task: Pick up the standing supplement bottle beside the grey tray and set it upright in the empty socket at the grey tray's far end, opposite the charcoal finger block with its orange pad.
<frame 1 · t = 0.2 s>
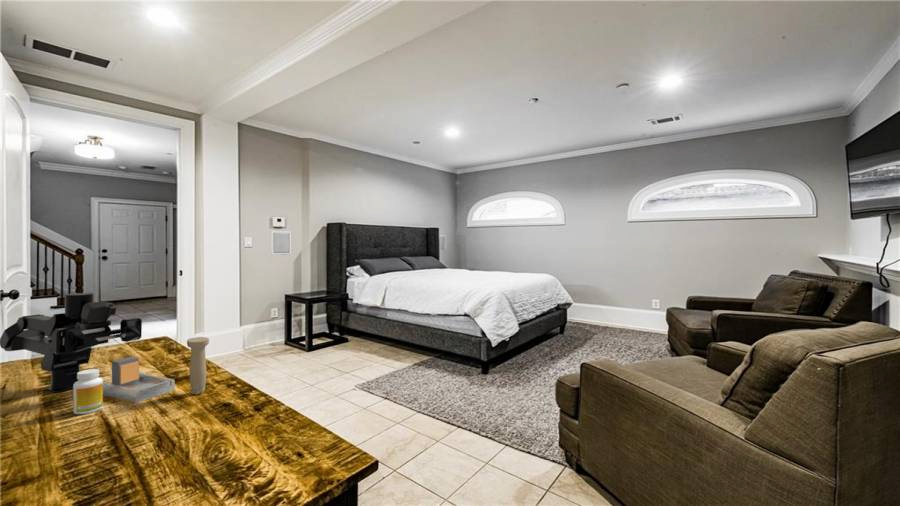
hand: (119, 338, 99), 17 cm above the table, tool horizontal, fingers open, 9 cm apart
handle: (198, 393, 106), on the table
supplement bottle: (88, 410, 95), on the table
grey tray: (137, 391, 106), on the table
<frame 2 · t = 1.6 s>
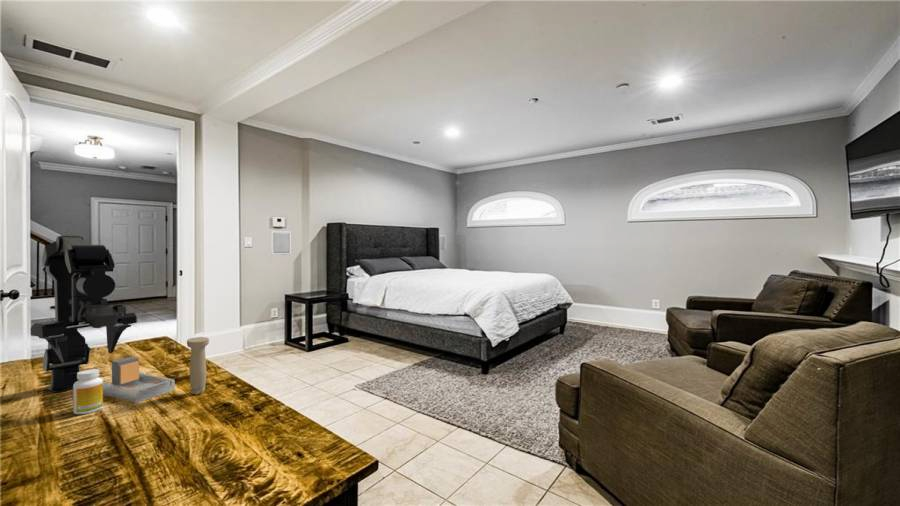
hand: (88, 357, 94), 13 cm above the table, tool pointing down, fingers open, 9 cm apart
nothing on the table moved.
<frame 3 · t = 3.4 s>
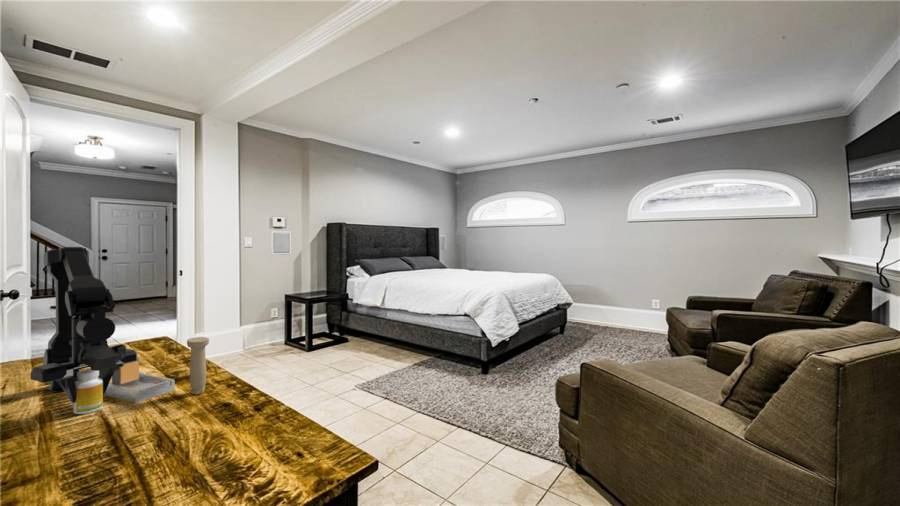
hand: (88, 398, 95), 3 cm above the table, tool pointing down, fingers closed on supplement bottle, 5 cm apart
supplement bottle: (88, 410, 95), on the table, touching gripper
everything else where it was.
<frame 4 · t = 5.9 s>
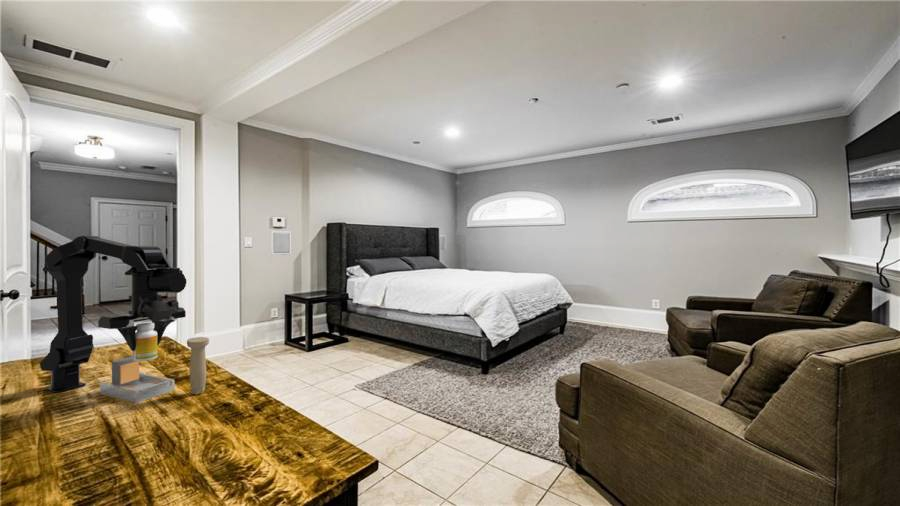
hand: (145, 347, 105), 13 cm above the table, tool pointing down, fingers closed on supplement bottle, 5 cm apart
supplement bottle: (145, 359, 105), point 10 cm above the table, touching gripper
everything else where it was.
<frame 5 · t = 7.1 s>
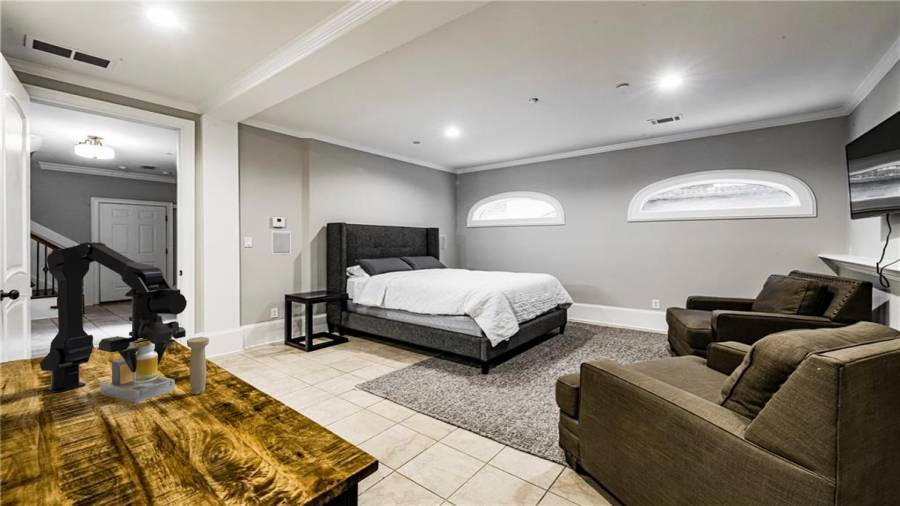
hand: (145, 369, 105), 7 cm above the table, tool pointing down, fingers closed on supplement bottle, 5 cm apart
supplement bottle: (145, 380, 105), point 4 cm above the table, touching gripper
everything else where it was.
when the fingers open (6 cm above the table, at t = 8.3 s): supplement bottle stays where it is, resting on grey tray.
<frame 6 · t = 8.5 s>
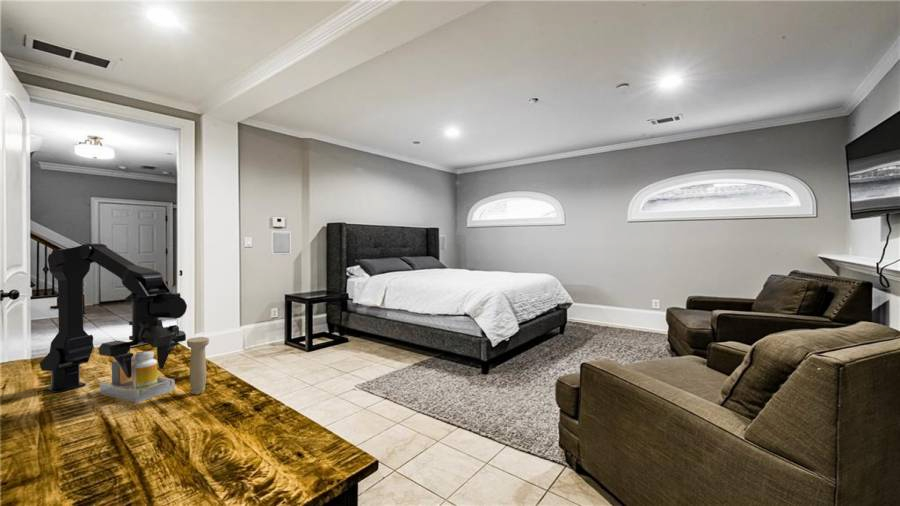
hand: (145, 373, 105), 6 cm above the table, tool pointing down, fingers open, 8 cm apart
supplement bottle: (145, 388, 105), point 2 cm above the table, touching grey tray
everything else where it was.
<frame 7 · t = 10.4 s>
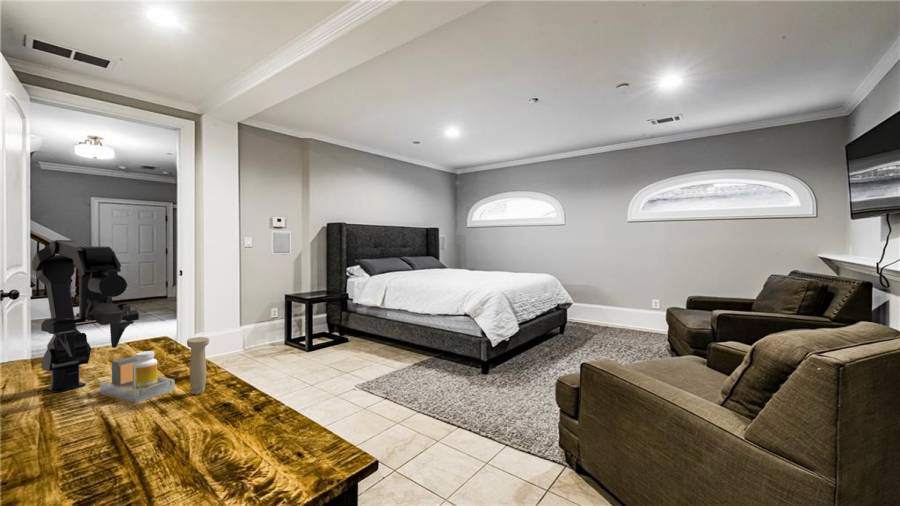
hand: (94, 352, 101), 13 cm above the table, tool pointing down, fingers open, 9 cm apart
nothing on the table moved.
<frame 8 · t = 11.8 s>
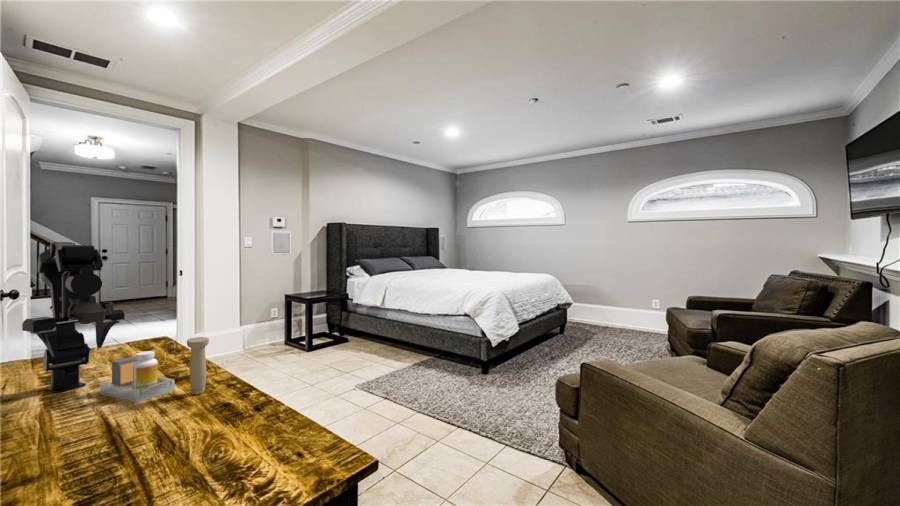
hand: (77, 352, 99), 13 cm above the table, tool pointing down, fingers open, 9 cm apart
nothing on the table moved.
at the end: supplement bottle 0.1 cm from the target spot on the grey tray, point 1.5 cm above the grey tray's base; supplement bottle tilted 0°; the gripper is holding nothing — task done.
